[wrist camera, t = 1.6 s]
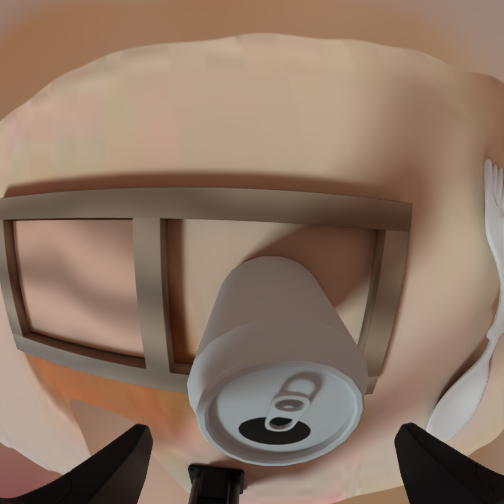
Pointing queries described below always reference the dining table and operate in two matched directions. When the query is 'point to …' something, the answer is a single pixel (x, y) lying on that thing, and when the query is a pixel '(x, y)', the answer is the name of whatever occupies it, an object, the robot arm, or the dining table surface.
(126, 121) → the dining table surface
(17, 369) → the dining table surface
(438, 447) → the robot arm
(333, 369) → the can
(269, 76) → the dining table surface
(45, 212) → the ladder rack
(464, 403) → the spoon
